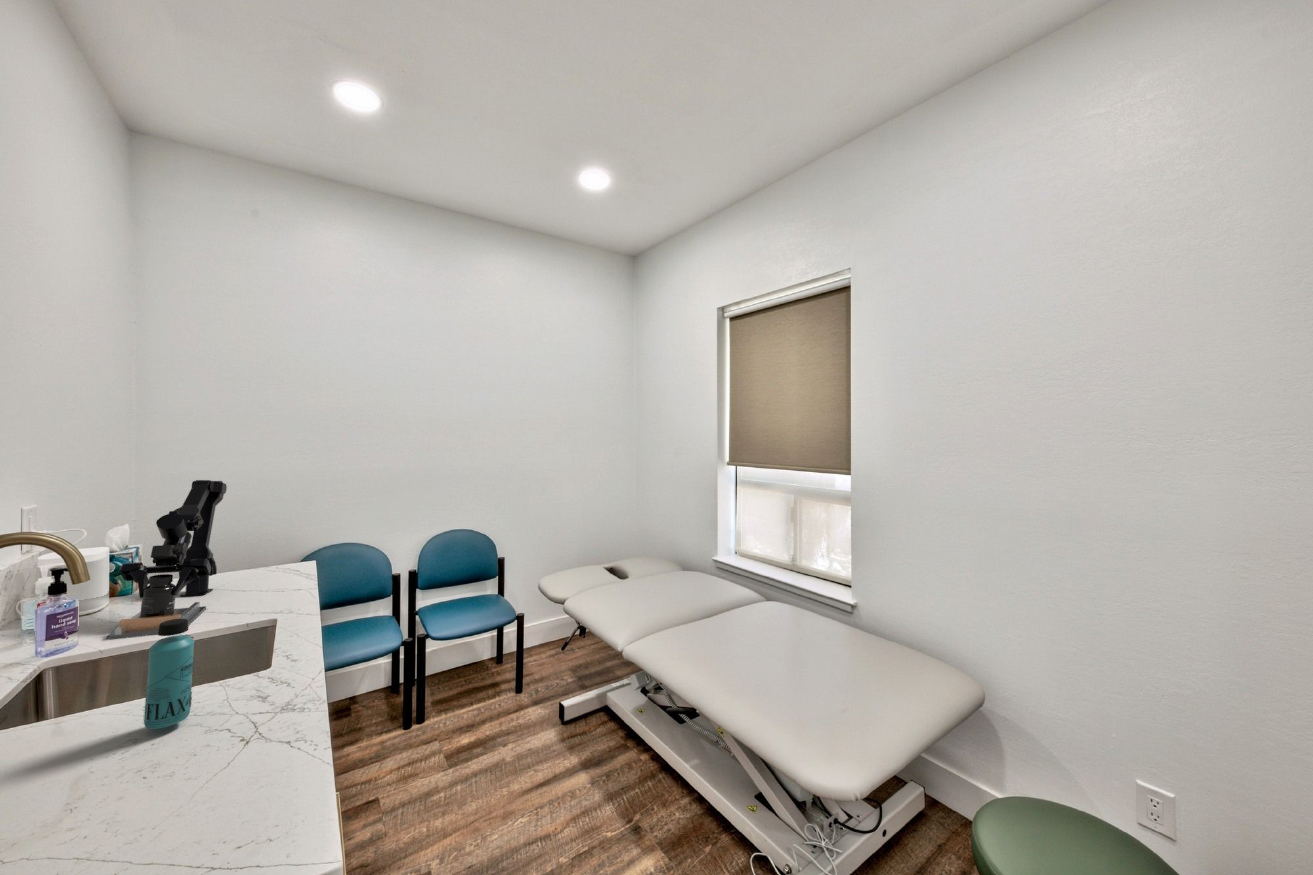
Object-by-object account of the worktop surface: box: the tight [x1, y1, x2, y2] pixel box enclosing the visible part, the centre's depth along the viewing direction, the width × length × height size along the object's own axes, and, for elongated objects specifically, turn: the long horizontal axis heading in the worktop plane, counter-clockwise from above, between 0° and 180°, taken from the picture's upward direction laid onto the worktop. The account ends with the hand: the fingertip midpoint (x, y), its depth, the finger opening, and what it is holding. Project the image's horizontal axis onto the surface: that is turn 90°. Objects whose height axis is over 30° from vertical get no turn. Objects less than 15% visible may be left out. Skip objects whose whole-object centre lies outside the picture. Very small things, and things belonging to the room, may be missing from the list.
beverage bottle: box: [142, 619, 195, 730], centre depth 94 cm, size 6×7×20 cm
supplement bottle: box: [139, 573, 177, 618], centre depth 141 cm, size 7×7×12 cm
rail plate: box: [106, 601, 207, 640], centre depth 142 cm, size 20×15×4 cm
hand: (157, 596), depth 140 cm, fingers closed on supplement bottle, 7 cm apart
